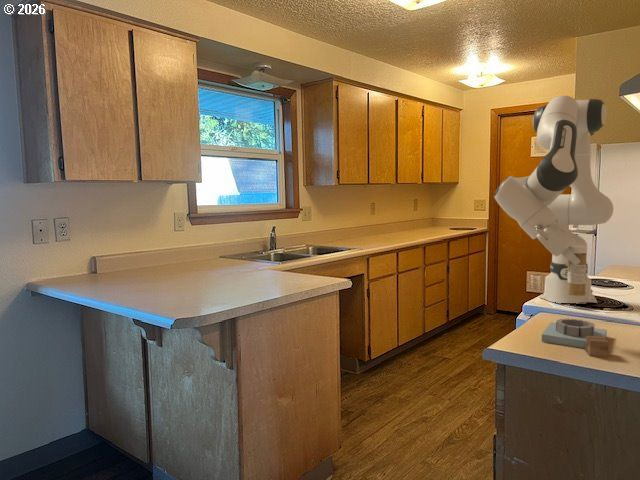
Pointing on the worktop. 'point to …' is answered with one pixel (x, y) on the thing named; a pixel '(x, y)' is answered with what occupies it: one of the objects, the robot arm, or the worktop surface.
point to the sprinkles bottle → (577, 272)
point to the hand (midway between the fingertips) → (580, 262)
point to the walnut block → (596, 346)
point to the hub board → (571, 332)
